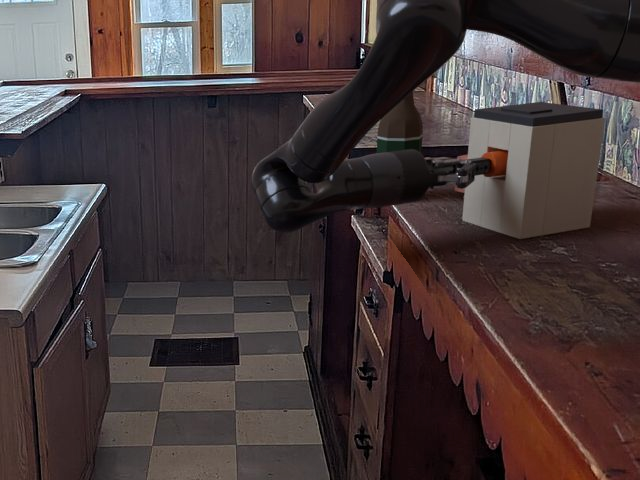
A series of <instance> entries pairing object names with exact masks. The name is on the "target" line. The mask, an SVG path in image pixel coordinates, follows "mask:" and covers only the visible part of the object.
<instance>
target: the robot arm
mask: <svg viewBox="0 0 640 480" xmlns="http://www.w3.org/2000/svg"><path fill="white" fill-rule="evenodd" d="M375 12H376V14H375V15H376V16H375V33H376V35H375V39H374V40H373V43H372V45H371V47H370V48H369V51H368V53H367V55H366V57H365V59H364V61H363V62H362V64H361V66H360V67H359V69H358V70H357V72H356V74H355V75H354V76H353V77H352V79H350V80H349V82H347V83H346V84H345V85H343V87H341V88H339V89H337V90H336V91H333V92H332V93H330V94H329V95H327V96H325V97H323V99H322V100H321V101H319V102H318V103H317V104H316V106H314V107H313V108H312V109H311V111H310V112H309V113H308V115H307V116H306V117H305V119H304V120H303V122H302V123H301V124H300V125H299V127H298V128H297V129H296V131H295V133H294V134H293V135H292V137H291V138H290V139H289V140H288V141H286V142H285V143H284V144H282V145H280V146H279V147H278V148H277V149H276V150H274V151H273V152H271V153H270V154H269V155H267V156H265V157H264V158H263V159H261V160H260V161H259V162H258V163H257V164H256V165H255V166H254V168H253V171H252V174H251V179H250V185H251V188H252V191H253V194H254V196H255V199H256V201H257V204H258V206H259V208H260V209H259V210H260V211H261V213H262V216H263V218H264V221H265V223H266V225H267V226H268V227H269V229H271V230H273V231H275V232H277V233H282V234H290V233H291V234H292V233H294V232H297V231H299V230H302V229H303V228H305V227H307V226H309V225H311V224H313V223H315V222H317V221H319V220H322V219H324V218H326V217H329V216H331V215H334V214H336V213H337V214H338V213H340V212H341V213H342V212H347V211H353V210H361V209H378V208H385V207H391V206H392V207H393V206H398V205H405V204H412V203H417V202H419V201H420V200H421V199H423V197H425V195H426V194H427V192H428V190H429V189H430V190H440V189H443V188H444V187H447V186H455V184H456V186H457V188H460V189H463V188H466V187H467V186H469V185H470V184H471V183H472V182H473V181H474V180H475V176H476V175H483V174H488V173H489V172H490V168H491V160H490V159H488V158H483V157H481V158H474V159H467V160H464V159H461V158H458V159H457V158H453V157H450V156H441V157H428V156H427V157H424V155H423V154H422V153H420V152H418V151H417V150H414V149H407V150H400V151H392V152H384V153H377V152H376V153H370V154H366V155H364V156H360V157H355V158H354V157H353V158H348V156H349V155H350V154H351V153H352V151H353V150H354V149H355V148H356V147H357V146H358V144H359V143H360V142H361V141H362V140H363V138H364V137H365V136H366V135H367V134H368V133H369V132H370V131H371V130H372V128H373V127H375V126H376V125H377V124H379V123H380V120H381V119H382V118H383V117H384V116H385V115H386V114H387V113H389V112H390V111H391V110H392V109H393V108H394V107H395V106H397V105H398V104H399V103H400V102H401V101H402V100H404V99H405V98H406V97H407V96H408V95H409V94H410V93H411V92H413V93H414V91H415V90H416V89H418V88H419V87H420V86H421V85H423V84H424V83H425V82H426V81H427V80H428V79H430V78H431V77H432V76H433V75H435V74H436V73H437V72H438V71H439V70H440V69H441V68H442V67H443V66H444V65H446V64H447V63H448V62H449V61H450V60H451V59H452V58H453V57H454V56H455V54H457V52H459V50H460V48H461V47H462V45H463V43H464V42H465V39H466V34H467V32H468V31H474V32H482V33H487V34H492V35H496V36H499V37H502V38H504V39H507V40H510V41H512V42H514V43H517V44H518V45H520V46H522V47H523V48H525V49H526V50H529V52H532V53H533V54H535V55H537V56H539V57H541V58H542V59H544V60H545V61H547V62H549V63H552V64H553V65H555V66H557V67H559V68H560V69H563V70H565V71H567V72H570V73H572V74H575V75H579V76H583V77H588V78H594V79H602V80H610V81H616V82H626V83H637V84H640V0H376V11H375ZM308 183H309V184H313V192H312V191H311V190H310V187H309V185H308Z"/></svg>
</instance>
